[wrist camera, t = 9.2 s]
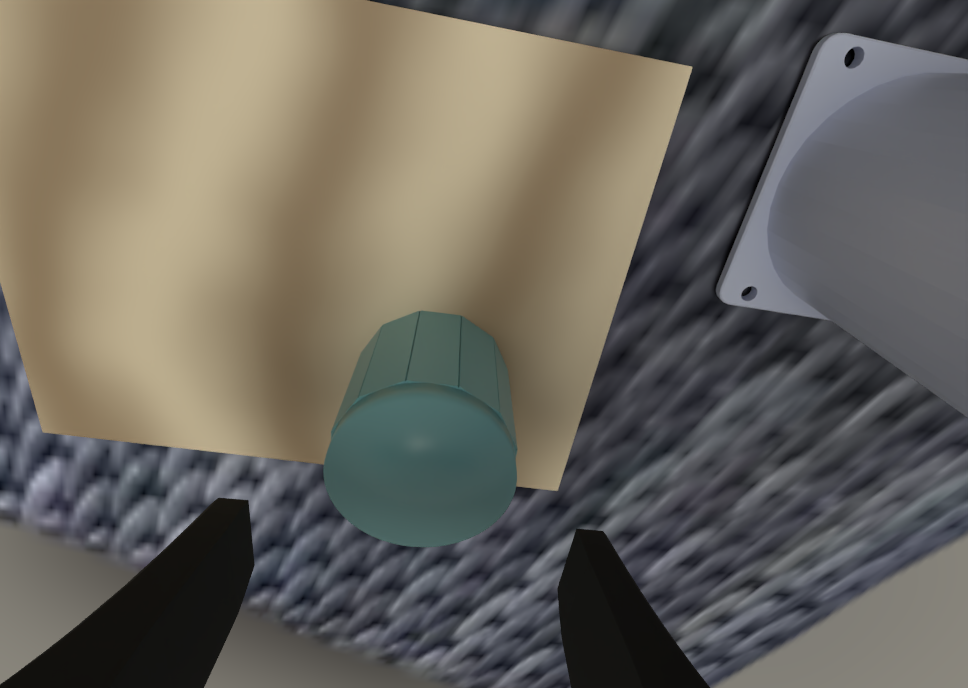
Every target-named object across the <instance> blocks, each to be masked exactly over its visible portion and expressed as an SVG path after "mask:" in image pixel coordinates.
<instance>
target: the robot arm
mask: <svg viewBox="0 0 968 688" xmlns="http://www.w3.org/2000/svg"><path fill="white" fill-rule="evenodd" d="M850 49H854V52H855V56H854V60H853V62H852V63H851V64H850V65H849V66H848V67H846V66H845V63H844V59H845V55H846V54H847V52H848V51H849V50H850ZM750 286H752V288H751V291H750V293H749V294H747V295H746V296H741V294H742V291H743V290H744V289H745V288H747V287H750ZM716 294H717V296H718V297H719V298H720V299H721V300H722V301H723V302H724V303H726V304H729V305H735V306H742V307H748V308H754V309H761V310H767V311H774V312H780V313H786V314H793V315H799V316H806V317H812V318H818V319H825V320H831V321H832V322H834V323H835V324H837V325H838V326H839V327H841V328H842V329H844V330H845V331H846V332H848V333H849V334H851V335H852V336H853V337H855V338H856V339H858V340H859V341H861V342H862V343H863V344H865V345H866V346H868V347H869V348H870V349H872V350H873V351H875V352H876V353H877V354H879V355H880V356H882V357H883V358H884V359H886V360H887V361H889V362H890V363H892V364H893V365H894V366H896V367H897V368H899V369H900V370H901V371H903V372H904V373H906V374H907V375H908V376H910V377H911V378H913V379H914V380H916V381H917V382H918V383H920V384H921V385H923V386H924V387H925V388H927V389H928V390H930V391H931V392H932V393H934V394H935V395H937V396H938V397H939V398H941V399H942V400H944V401H945V402H947V403H948V404H949V405H951V406H952V407H954V408H955V409H956V410H958V411H959V412H961V413H962V414H963V415H965V416H966V417H968V60H967V59H963V58H958V57H953V56H949V55H944V54H940V53H935V52H930V51H926V50H921V49H917V48H912V47H907V46H903V45H898V44H894V43H889V42H884V41H880V40H875V39H871V38H866V37H861V36H857V35H852V34H848V33H834V34H830V35H827V36H825V37H823V38H822V39H821V40H820V41H819V42H818V43H817V45H816V46H815V48H814V50H813V52H812V54H811V56H810V59H809V61H808V64H807V66H806V69H805V71H804V73H803V76H802V78H801V81H800V83H799V86H798V88H797V91H796V93H795V95H794V98H793V100H792V103H791V105H790V108H789V110H788V113H787V115H786V117H785V120H784V122H783V125H782V127H781V130H780V132H779V135H778V137H777V139H776V142H775V144H774V147H773V149H772V152H771V154H770V156H769V159H768V161H767V164H766V166H765V169H764V171H763V174H762V176H761V178H760V181H759V183H758V186H757V188H756V191H755V193H754V196H753V198H752V200H751V203H750V205H749V208H748V210H747V213H746V215H745V218H744V220H743V222H742V225H741V227H740V230H739V232H738V235H737V237H736V240H735V242H734V244H733V247H732V249H731V252H730V254H729V257H728V259H727V261H726V264H725V266H724V269H723V271H722V274H721V276H720V279H719V281H718V283H717V287H716ZM253 568H254V556H253V545H252V534H251V524H250V513H249V503H248V500H238V499H227V498H218V499H217V500H215V501H214V502H213V503H212V504H211V505H210V506H209V507H208V508H207V509H206V510H205V511H204V512H203V513H202V514H201V515H200V516H199V517H198V518H196V519H195V520H194V521H193V522H192V523H191V524H190V525H189V526H188V527H187V528H186V529H185V530H184V531H183V532H182V533H181V534H180V535H179V536H178V537H177V538H176V539H175V540H174V541H173V542H172V543H171V544H170V545H169V546H167V547H166V548H165V549H164V550H163V551H162V552H161V553H160V554H159V555H158V556H157V557H156V558H155V559H153V560H152V561H151V562H150V563H149V564H148V565H147V566H146V567H145V568H144V569H143V570H141V571H140V572H139V573H138V574H137V575H136V576H135V577H134V578H133V579H132V580H130V581H129V582H128V583H127V584H126V585H125V586H124V587H123V588H121V589H120V590H119V591H118V592H117V593H116V594H114V595H113V596H112V597H111V598H110V599H109V600H107V601H106V602H105V603H104V604H103V605H101V606H100V607H99V608H98V609H97V610H96V611H94V612H93V613H92V614H91V615H90V616H88V617H87V618H86V619H85V620H84V621H82V622H81V623H80V624H79V625H78V626H76V627H75V628H74V629H73V630H72V631H70V632H69V633H68V634H66V635H65V636H64V637H63V638H61V639H60V640H59V641H58V642H56V643H55V644H54V645H52V646H51V647H50V648H49V649H47V650H46V651H45V652H43V653H42V654H41V655H40V656H38V657H37V658H36V659H34V660H33V661H32V662H30V663H29V664H28V665H26V666H25V667H24V668H22V669H21V670H20V671H18V672H17V673H16V674H14V675H13V676H11V677H10V678H9V679H7V680H6V681H5V682H3V683H2V684H0V688H204V686H205V684H206V682H207V679H208V678H209V675H210V673H211V671H212V669H213V667H214V665H215V663H216V660H217V658H218V656H219V654H220V652H221V650H222V648H223V645H224V643H225V641H226V639H227V637H228V635H229V632H230V630H231V628H232V626H233V624H234V622H235V619H236V617H237V615H238V612H239V609H240V607H241V604H242V601H243V598H244V595H245V592H246V589H247V586H248V583H249V580H250V577H251V574H252V571H253ZM558 600H559V614H560V624H561V635H562V641H563V647H564V652H565V657H566V662H567V668H568V673H569V678H570V683H571V688H710V687H709V686H708V685H707V683H706V682H705V681H704V679H703V678H702V677H701V676H700V674H699V673H698V672H697V670H696V669H695V668H694V666H693V665H692V664H691V662H690V661H689V660H688V658H687V657H686V656H685V654H684V653H683V652H682V650H681V649H680V648H679V646H678V645H677V644H676V642H675V641H674V639H673V638H672V637H671V635H670V634H669V632H668V631H667V629H666V628H665V627H664V625H663V624H662V622H661V621H660V619H659V618H658V616H657V615H656V613H655V612H654V610H653V609H652V607H651V606H650V604H649V603H648V602H647V600H646V598H645V597H644V595H643V594H642V592H641V591H640V589H639V588H638V586H637V585H636V583H635V581H634V580H633V578H632V577H631V575H630V573H629V572H628V570H627V569H626V567H625V565H624V564H623V562H622V561H621V559H620V557H619V556H618V554H617V552H616V551H615V549H614V547H613V546H612V544H611V542H610V541H609V539H608V538H607V536H606V534H605V533H604V532H603V531H596V530H584V529H576V532H575V535H574V539H573V542H572V545H571V548H570V551H569V554H568V557H567V560H566V564H565V567H564V570H563V573H562V576H561V579H560V582H559V586H558Z"/></svg>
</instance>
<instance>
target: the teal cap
mask: <svg viewBox="0 0 968 688" xmlns="http://www.w3.org/2000/svg"><path fill="white" fill-rule="evenodd" d="M516 455H517V441H516V433H515V425H514V417H513V409H512V400H511V392H510V384H509V376H508V369H507V367H506V364H505V362H504V360H503V357H502V355H501V353H500V351H499V348H498V346H497V344H496V342H495V339H494V338H493V337H492V336H491V335H489V334H488V333H486V332H485V331H483V330H482V329H480V328H479V327H478V326H476V325H475V324H473V323H472V322H470V321H469V320H467V319H466V318H465V317H463V316H461V315H455V314H446V313H438V312H430V311H417V312H414V313H412V314H409V315H406V316H404V317H401V318H399V319H396V320H393V321H391V322H388V323H386V324H383V325H382V326H381V327H380V329H379V330H378V331H377V333H376V334H375V335H374V336H373V338H372V339H371V340H370V342H369V343H368V344H367V346H366V347H365V348H364V349H363V351H362V352H361V354H360V357H359V359H358V362H357V364H356V367H355V370H354V372H353V375H352V378H351V380H350V383H349V385H348V388H347V391H346V393H345V396H344V399H343V401H342V404H341V406H340V409H339V412H338V414H337V417H336V420H335V422H334V425H333V427H332V430H331V442H330V445H329V447H328V450H327V453H326V457H325V461H324V470H323V472H324V482H325V486H326V489H327V492H328V494H329V497H330V499H331V501H332V502H333V504H334V505H335V507H336V508H337V509H338V511H339V512H340V513H341V514H342V515H343V516H344V517H345V518H346V519H347V520H348V521H349V522H350V523H351V524H353V525H354V526H356V527H357V528H358V529H360V530H362V531H363V532H365V533H367V534H369V535H371V536H373V537H376V538H378V539H380V540H383V541H387V542H390V543H394V544H398V545H404V546H411V547H437V546H444V545H449V544H453V543H457V542H461V541H463V540H466V539H469V538H471V537H473V536H475V535H477V534H479V533H481V532H483V531H484V530H486V529H487V528H489V527H490V526H491V525H492V524H494V523H495V522H496V521H497V520H498V519H499V518H500V517H501V516H502V515H503V514H504V512H505V511H506V509H507V508H508V507H509V505H510V503H511V501H512V499H513V496H514V493H515V490H516V483H517V468H516Z"/></svg>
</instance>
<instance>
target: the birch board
mask: <svg viewBox="0 0 968 688" xmlns="http://www.w3.org/2000/svg"><path fill="white" fill-rule="evenodd" d="M692 68H693V67H690V66H685V65H681V64H676V63H671V62H666V61H661V60H656V59H651V58H646V57H641V56H636V55H631V54H627V53H622V52H617V51H612V50H607V49H602V48H597V47H592V46H587V45H582V44H578V43H573V42H568V41H563V40H558V39H553V38H548V37H543V36H538V35H533V34H529V33H524V32H519V31H514V30H509V29H504V28H499V27H494V26H489V25H484V24H479V23H475V22H470V21H465V20H460V19H455V18H450V17H445V16H440V15H435V14H430V13H426V12H421V11H416V10H411V9H406V8H401V7H396V6H391V5H386V4H381V3H377V2H372V1H367V0H0V282H1V286H2V290H3V293H4V297H5V300H6V304H7V307H8V311H9V314H10V318H11V321H12V325H13V328H14V332H15V336H16V339H17V343H18V346H19V350H20V353H21V357H22V360H23V364H24V367H25V371H26V374H27V378H28V382H29V385H30V389H31V392H32V396H33V399H34V403H35V406H36V410H37V413H38V417H39V420H40V424H41V428H42V431H43V432H45V433H54V434H63V435H71V436H80V437H89V438H98V439H107V440H115V441H124V442H133V443H142V444H150V445H159V446H168V447H177V448H185V449H194V450H203V451H212V452H220V453H229V454H238V455H247V456H255V457H264V458H273V459H282V460H290V461H299V462H308V463H317V464H324V461H325V457H326V453H327V450H328V447H329V445H330V442H331V430H332V427H333V425H334V422H335V420H336V417H337V414H338V412H339V409H340V406H341V404H342V401H343V399H344V396H345V393H346V391H347V388H348V385H349V383H350V380H351V378H352V375H353V372H354V370H355V367H356V364H357V362H358V359H359V357H360V354H361V352H362V351H363V349H364V348H365V347H366V346H367V344H368V343H369V342H370V340H371V339H372V338H373V336H374V335H375V334H376V333H377V331H378V330H379V329H380V327H381V326H382V325H383V324H386V323H388V322H391V321H393V320H396V319H399V318H401V317H404V316H406V315H409V314H412V313H414V312H417V311H430V312H438V313H446V314H455V315H461V316H463V317H465V318H466V319H467V320H469V321H470V322H472V323H473V324H475V325H476V326H478V327H479V328H480V329H482V330H483V331H485V332H486V333H488V334H489V335H491V336H492V337H493V338H494V339H495V342H496V344H497V346H498V348H499V351H500V353H501V355H502V357H503V360H504V362H505V364H506V367H507V369H508V376H509V384H510V392H511V400H512V409H513V417H514V425H515V433H516V441H517V455H516V468H517V483H516V486H518V487H527V488H536V489H544V490H553V491H558V488H559V485H560V482H561V478H562V475H563V472H564V469H565V466H566V463H567V460H568V456H569V453H570V450H571V447H572V444H573V441H574V438H575V434H576V431H577V428H578V425H579V422H580V419H581V416H582V413H583V409H584V406H585V403H586V400H587V397H588V394H589V391H590V387H591V384H592V381H593V378H594V375H595V372H596V369H597V366H598V362H599V359H600V356H601V353H602V350H603V347H604V344H605V340H606V337H607V334H608V331H609V328H610V325H611V322H612V318H613V315H614V312H615V309H616V306H617V303H618V300H619V297H620V293H621V290H622V287H623V284H624V281H625V278H626V275H627V271H628V268H629V265H630V262H631V259H632V256H633V253H634V249H635V246H636V243H637V240H638V237H639V234H640V231H641V228H642V224H643V221H644V218H645V215H646V212H647V209H648V206H649V202H650V199H651V196H652V193H653V190H654V187H655V184H656V181H657V177H658V174H659V171H660V168H661V165H662V162H663V159H664V155H665V152H666V149H667V146H668V143H669V140H670V137H671V133H672V130H673V127H674V124H675V121H676V118H677V115H678V112H679V108H680V105H681V102H682V99H683V96H684V93H685V90H686V86H687V83H688V80H689V77H690V74H691V71H692Z"/></svg>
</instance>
